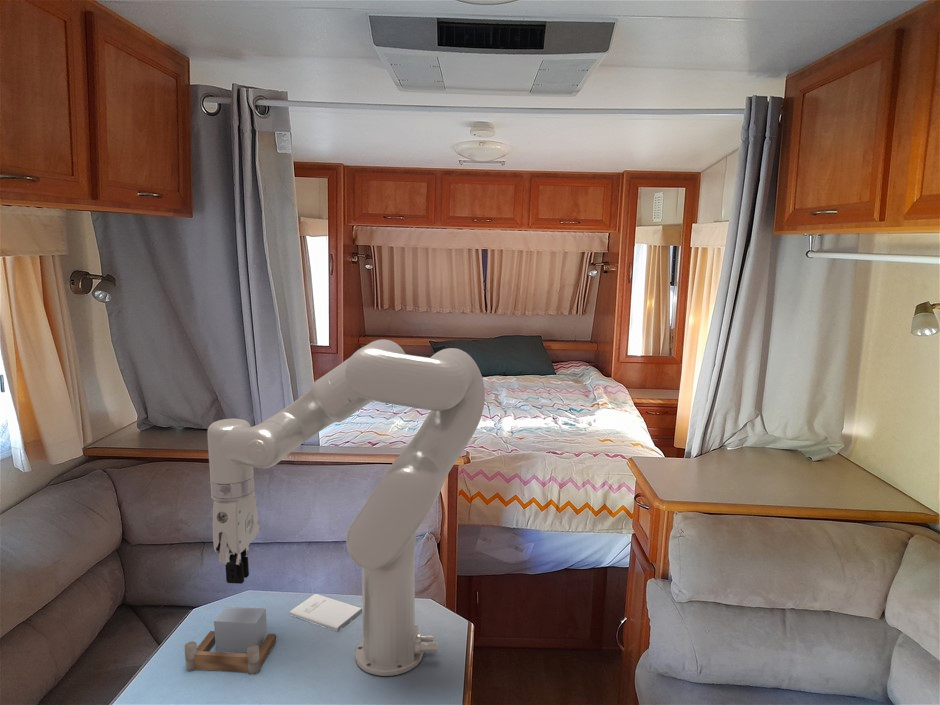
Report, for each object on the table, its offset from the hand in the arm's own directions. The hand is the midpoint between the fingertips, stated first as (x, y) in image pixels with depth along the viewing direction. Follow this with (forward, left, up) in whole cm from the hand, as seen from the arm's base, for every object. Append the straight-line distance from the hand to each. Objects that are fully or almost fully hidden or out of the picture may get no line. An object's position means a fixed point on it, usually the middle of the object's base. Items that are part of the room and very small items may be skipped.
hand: (237, 579), depth 124 cm
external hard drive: (-13, -11, -14) cm, 22 cm away
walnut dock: (0, +4, -13) cm, 14 cm away
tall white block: (0, 0, -13) cm, 13 cm away
